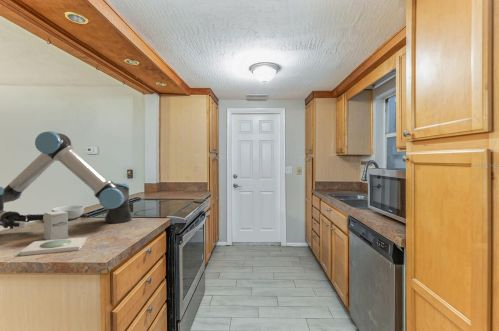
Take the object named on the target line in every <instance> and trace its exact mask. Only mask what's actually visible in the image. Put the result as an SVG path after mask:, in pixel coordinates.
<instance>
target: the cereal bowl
mask: <svg viewBox="0 0 499 331" xmlns="http://www.w3.org/2000/svg"><path fill="white" fill-rule="evenodd" d="M84 210H85V207H84V206H83V205H65V206H64V205H63V206H57V207H53V208H51V212H55V211H65V212H68V221H71V220H75V219H76V218H78V217H80V216H81V215H83V213H84Z"/></svg>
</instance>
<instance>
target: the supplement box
mask: <svg viewBox="0 0 499 331" xmlns="http://www.w3.org/2000/svg"><path fill="white" fill-rule="evenodd" d="M43 214H44V221H43V239H44V240H45V241H46V240H58V239H69V238H68V237H69V220H68V212H65V211H55V212H52V211H48V212H44V213H43Z"/></svg>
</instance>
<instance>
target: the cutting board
mask: <svg viewBox="0 0 499 331" xmlns="http://www.w3.org/2000/svg"><path fill="white" fill-rule="evenodd" d="M86 241H87V236H85V237H72V238H64V239H58V240H46V239H45V240H35V241H33V242H31V243H30V244H28V245H27V246H26V247H24V248H23V249H21V251H19V256H30V255H41V254H42V255H43V254H51V253H62V252H72V251H79V250H80V249H82V247H83V245H84V244H85V243H86Z"/></svg>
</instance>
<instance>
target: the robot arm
mask: <svg viewBox="0 0 499 331" xmlns="http://www.w3.org/2000/svg"><path fill="white" fill-rule="evenodd" d="M34 145H35V148H36V150H37V151H39V152H40V154H39V155H38V156H37V157H36V158H35V159H34V160H32V162H30V164H29V165H27V166H26V167H25V168H24V169H23V170H22V171H21V172H20V173H18V175H16V176H15V178H14V179H13V180H12V181H10V182H9V183H8V185H6V186H5V187H4V188H3V186H0V227H3V228H4V229H8V228H9V229H11V230H13V229H14V228H20V229H27V223H29V222H36V221H37V222H38V221H43V222H44V213H43V214H40V213H39V214H30V213H29V214H26V215H25V214H24V215H23V214H20V213H19V212H18V211H10V210H4V205H5V203H10V202H14V201H17V200H19V199H20V198H21V196H22V193H23V192H24V191H25V190H27V189H28V188H29V187H30V186H31V185H32V184H33V183H34V182H36V180H37V179H38V178H39V177H40V176H41V175H42V174H43V173H44V172H45V171H46V170H47V169H48V168H50V166H52V165H53V164H54V163H55V162H56V161H57V162H58V161H59V162H60V163H61V164H62V165H63V166H64V167H65V168H67V169H68V170H69V171H70V172H71V173H72V174H74V175H75V176H76V177H77V178H78V179H79V180H80V181H81V182H83V183H84V184H85V185H86V186H87V187H88V188H90V190H92V191H93V192H94V193H93V195H94V197H95V198H97V200H98V202H99V204H100V205H101V206H102V207H103V208H105V209H107V211H106V213H105V216H104V223H107V224H120V223H126V222H130V221H132V220H133V219H132V218H133V215H132V213H131V210H130V205H129V204H130V195H129V194H130V186H129V183H122V182H120V183H119V182H117V183H115V182H113V181H112V180H107V179H105V177H103V175H101V173H99V172H98V171H97V170H96V169H94V167H92V166H91V165H90V164H89V163H88V162H86V161H85V160H84V159H83V158H82V156H80V155H79V154H78V153H77V152H76V151H74V146H73V144H72V141H71V140H70V138H69V137H68V135H65V134H63V133H59V132H55V131H43V132H41V133H39V134H38V135H37V136H36V138H35V140H34Z"/></svg>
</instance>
